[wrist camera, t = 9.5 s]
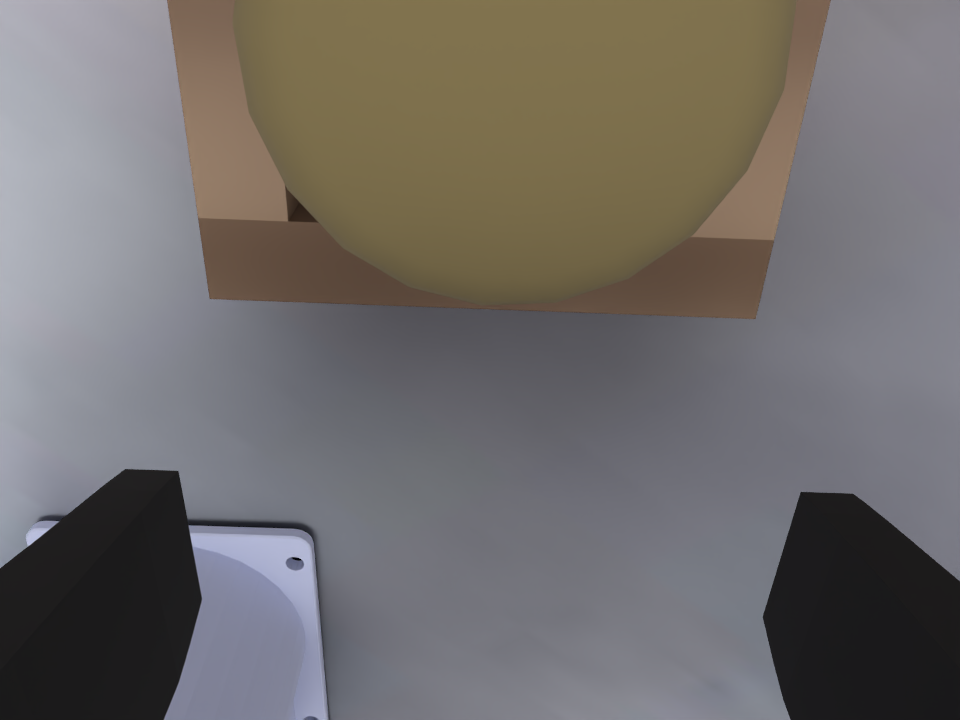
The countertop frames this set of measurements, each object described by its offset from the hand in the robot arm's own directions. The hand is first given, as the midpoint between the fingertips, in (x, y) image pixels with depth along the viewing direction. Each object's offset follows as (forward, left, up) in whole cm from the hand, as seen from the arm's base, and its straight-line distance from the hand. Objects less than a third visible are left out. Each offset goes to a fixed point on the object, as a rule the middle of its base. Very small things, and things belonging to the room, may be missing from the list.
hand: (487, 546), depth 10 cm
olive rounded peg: (+5, 0, -11) cm, 12 cm away
